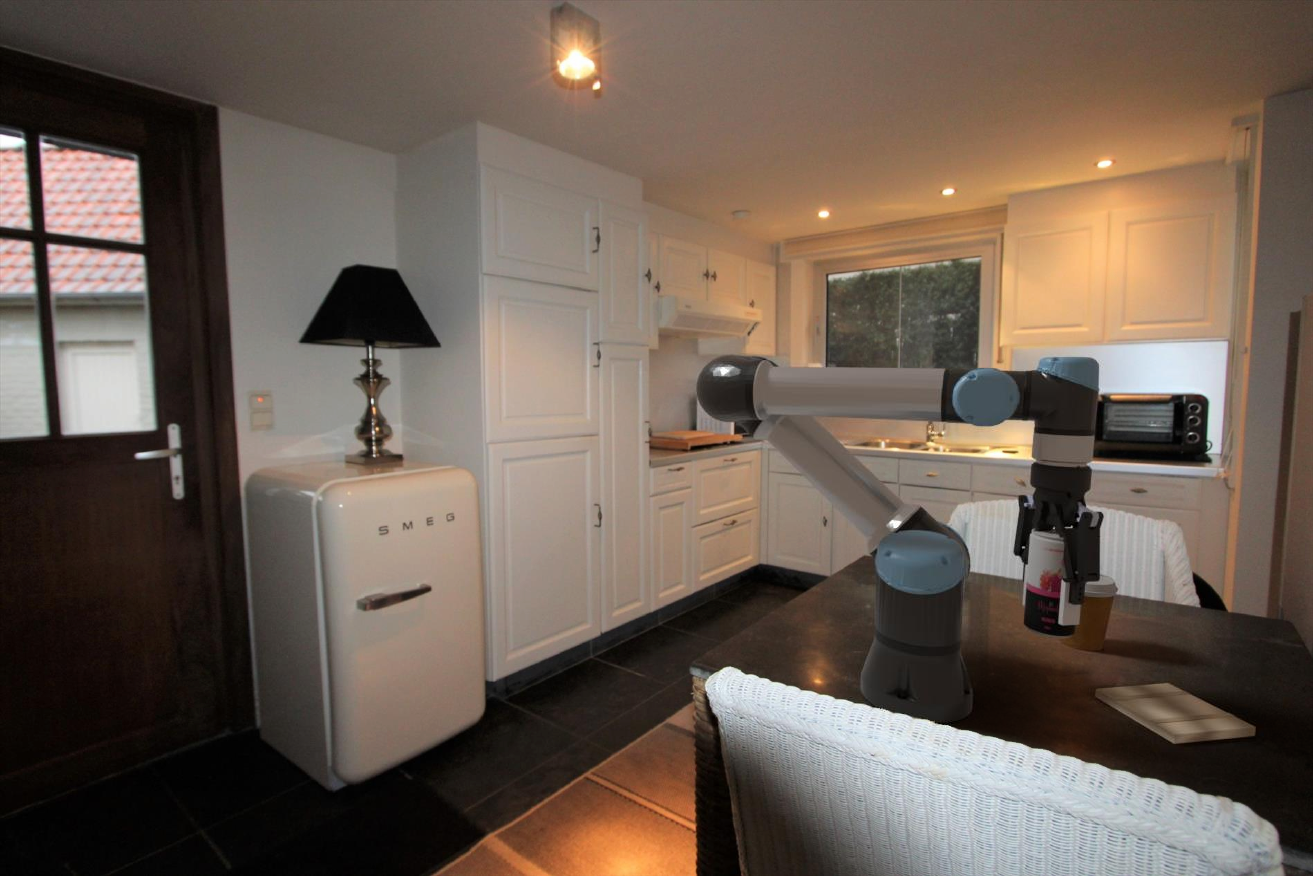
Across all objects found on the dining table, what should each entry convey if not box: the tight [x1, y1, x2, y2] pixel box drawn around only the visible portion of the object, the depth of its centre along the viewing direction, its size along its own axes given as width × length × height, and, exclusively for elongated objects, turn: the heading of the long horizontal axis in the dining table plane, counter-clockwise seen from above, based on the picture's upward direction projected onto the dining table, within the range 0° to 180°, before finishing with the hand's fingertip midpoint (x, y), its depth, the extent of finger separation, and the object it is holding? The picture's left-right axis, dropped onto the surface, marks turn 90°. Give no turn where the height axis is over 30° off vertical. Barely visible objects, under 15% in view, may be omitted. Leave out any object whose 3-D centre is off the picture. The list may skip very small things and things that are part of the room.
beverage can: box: [1023, 528, 1077, 639], centre depth 93 cm, size 6×6×15 cm
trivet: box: [1094, 682, 1256, 744], centre depth 86 cm, size 12×12×1 cm
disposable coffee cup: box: [1058, 573, 1119, 652], centre depth 109 cm, size 10×10×12 cm
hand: (1049, 614), depth 94 cm, fingers closed on beverage can, 6 cm apart
